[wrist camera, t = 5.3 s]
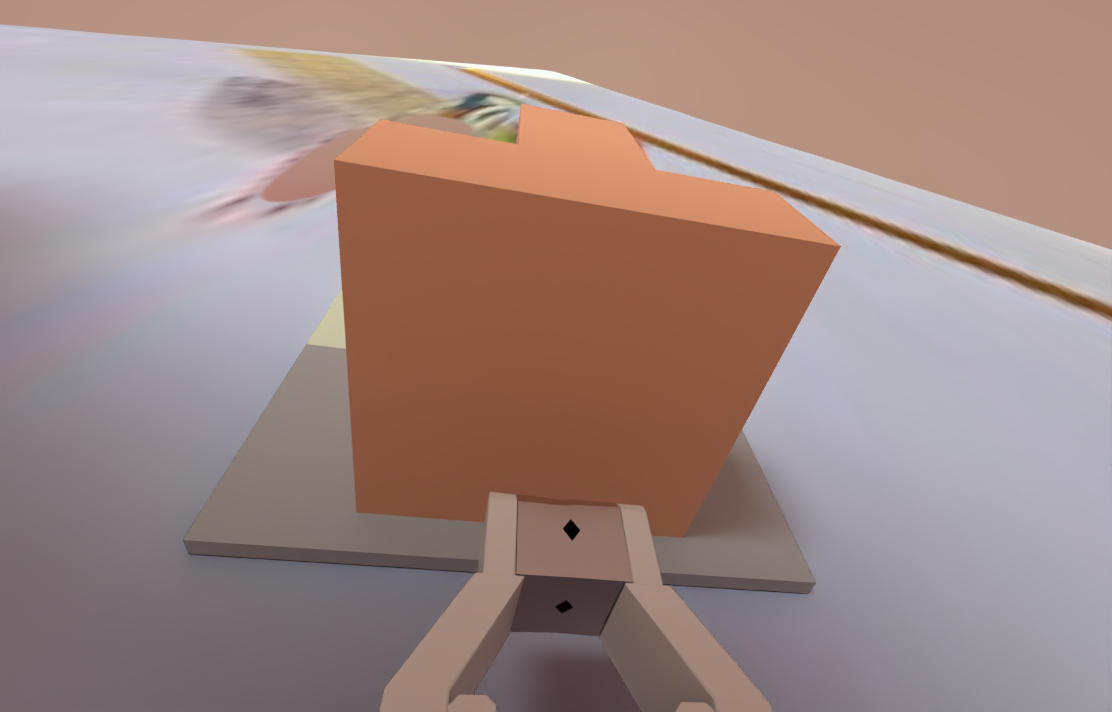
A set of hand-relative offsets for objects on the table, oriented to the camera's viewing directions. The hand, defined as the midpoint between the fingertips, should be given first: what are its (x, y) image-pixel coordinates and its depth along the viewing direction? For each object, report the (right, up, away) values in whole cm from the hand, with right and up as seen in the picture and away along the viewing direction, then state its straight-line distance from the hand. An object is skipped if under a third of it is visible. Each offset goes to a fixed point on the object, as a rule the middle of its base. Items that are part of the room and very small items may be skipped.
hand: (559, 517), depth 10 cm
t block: (-1, +1, +9) cm, 9 cm away
